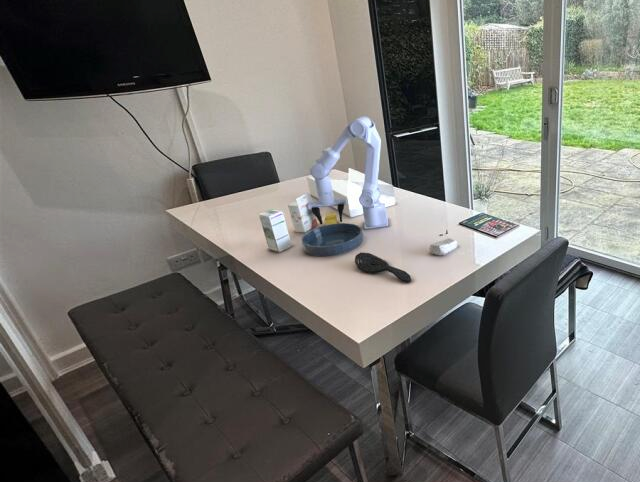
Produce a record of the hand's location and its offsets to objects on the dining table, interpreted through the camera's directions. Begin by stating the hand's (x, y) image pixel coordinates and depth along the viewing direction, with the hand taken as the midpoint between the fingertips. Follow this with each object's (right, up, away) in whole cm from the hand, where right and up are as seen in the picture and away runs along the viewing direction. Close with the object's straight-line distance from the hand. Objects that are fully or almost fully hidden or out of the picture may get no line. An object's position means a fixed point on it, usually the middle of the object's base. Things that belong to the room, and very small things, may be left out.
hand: (331, 222), depth 171 cm
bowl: (+8, -8, -15) cm, 19 cm away
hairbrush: (+33, -17, -35) cm, 51 cm away
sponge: (0, -1, +1) cm, 1 cm away
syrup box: (-11, -10, -18) cm, 23 cm away
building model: (-4, +11, +30) cm, 33 cm away
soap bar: (+51, -11, -21) cm, 57 cm away
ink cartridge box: (-10, -3, -1) cm, 10 cm away
